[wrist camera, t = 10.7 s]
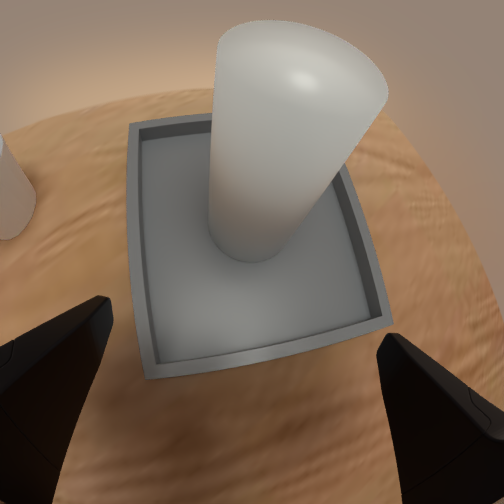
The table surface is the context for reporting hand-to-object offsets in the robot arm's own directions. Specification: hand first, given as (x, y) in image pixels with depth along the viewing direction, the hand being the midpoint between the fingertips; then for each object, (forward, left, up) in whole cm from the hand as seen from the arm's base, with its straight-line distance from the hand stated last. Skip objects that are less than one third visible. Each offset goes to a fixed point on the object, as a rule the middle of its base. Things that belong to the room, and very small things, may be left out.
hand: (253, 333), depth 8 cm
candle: (+7, -3, -9) cm, 12 cm away
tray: (+7, -3, -10) cm, 13 cm away
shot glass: (+12, +17, -10) cm, 24 cm away
